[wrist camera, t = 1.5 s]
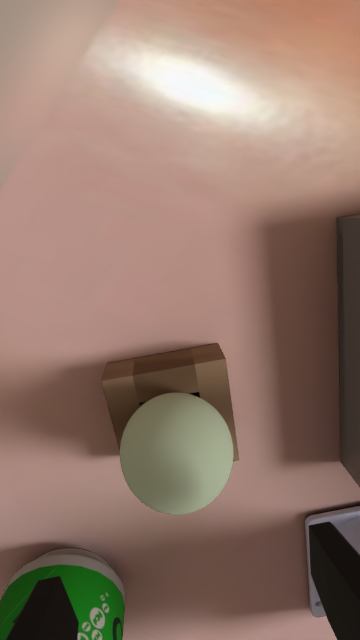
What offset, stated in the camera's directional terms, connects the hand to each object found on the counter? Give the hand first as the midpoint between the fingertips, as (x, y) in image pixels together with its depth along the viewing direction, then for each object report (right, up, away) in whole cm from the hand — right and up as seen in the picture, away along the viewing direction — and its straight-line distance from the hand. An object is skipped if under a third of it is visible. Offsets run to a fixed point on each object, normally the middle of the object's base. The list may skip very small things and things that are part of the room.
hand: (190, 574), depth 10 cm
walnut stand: (-1, +3, +9) cm, 10 cm away
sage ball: (0, +1, +5) cm, 6 cm away
